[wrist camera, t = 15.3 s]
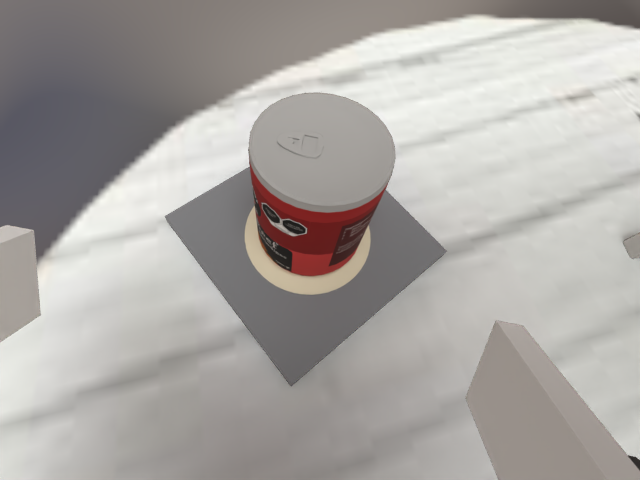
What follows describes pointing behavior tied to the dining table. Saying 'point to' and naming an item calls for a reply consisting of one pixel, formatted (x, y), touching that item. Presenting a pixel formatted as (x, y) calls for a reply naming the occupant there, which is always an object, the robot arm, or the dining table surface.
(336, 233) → the canned food
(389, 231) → the mat
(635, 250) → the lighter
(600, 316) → the dining table surface
